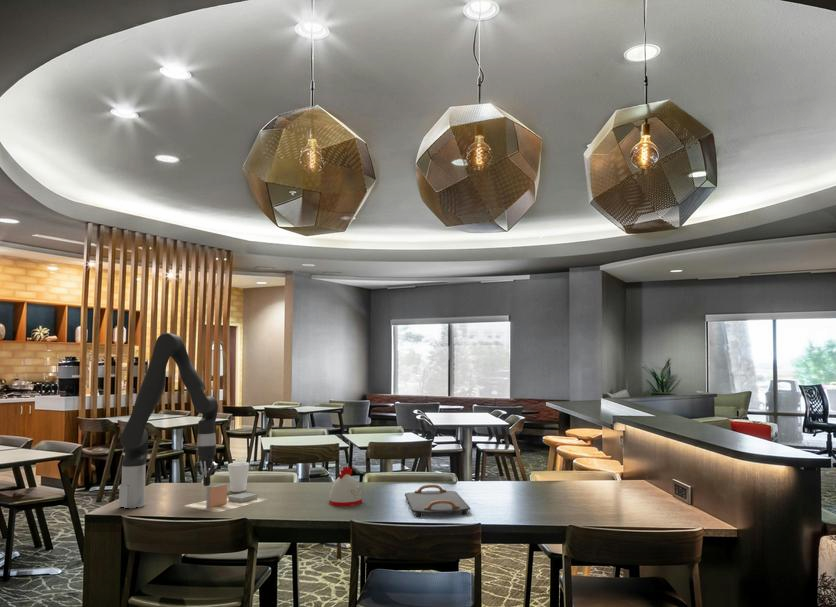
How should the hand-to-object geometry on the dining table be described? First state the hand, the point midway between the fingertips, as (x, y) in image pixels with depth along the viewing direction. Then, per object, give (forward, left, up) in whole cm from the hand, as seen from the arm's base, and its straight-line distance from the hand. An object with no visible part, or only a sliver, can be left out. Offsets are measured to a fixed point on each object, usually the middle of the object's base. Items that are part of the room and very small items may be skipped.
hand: (206, 485), depth 270 cm
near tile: (0, -7, -7) cm, 10 cm away
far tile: (+13, -4, -6) cm, 15 cm away
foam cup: (+26, +10, -9) cm, 29 cm away
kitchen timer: (+35, -47, -9) cm, 59 cm away
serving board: (+48, -84, -9) cm, 97 cm away
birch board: (+6, -6, -8) cm, 12 cm away
